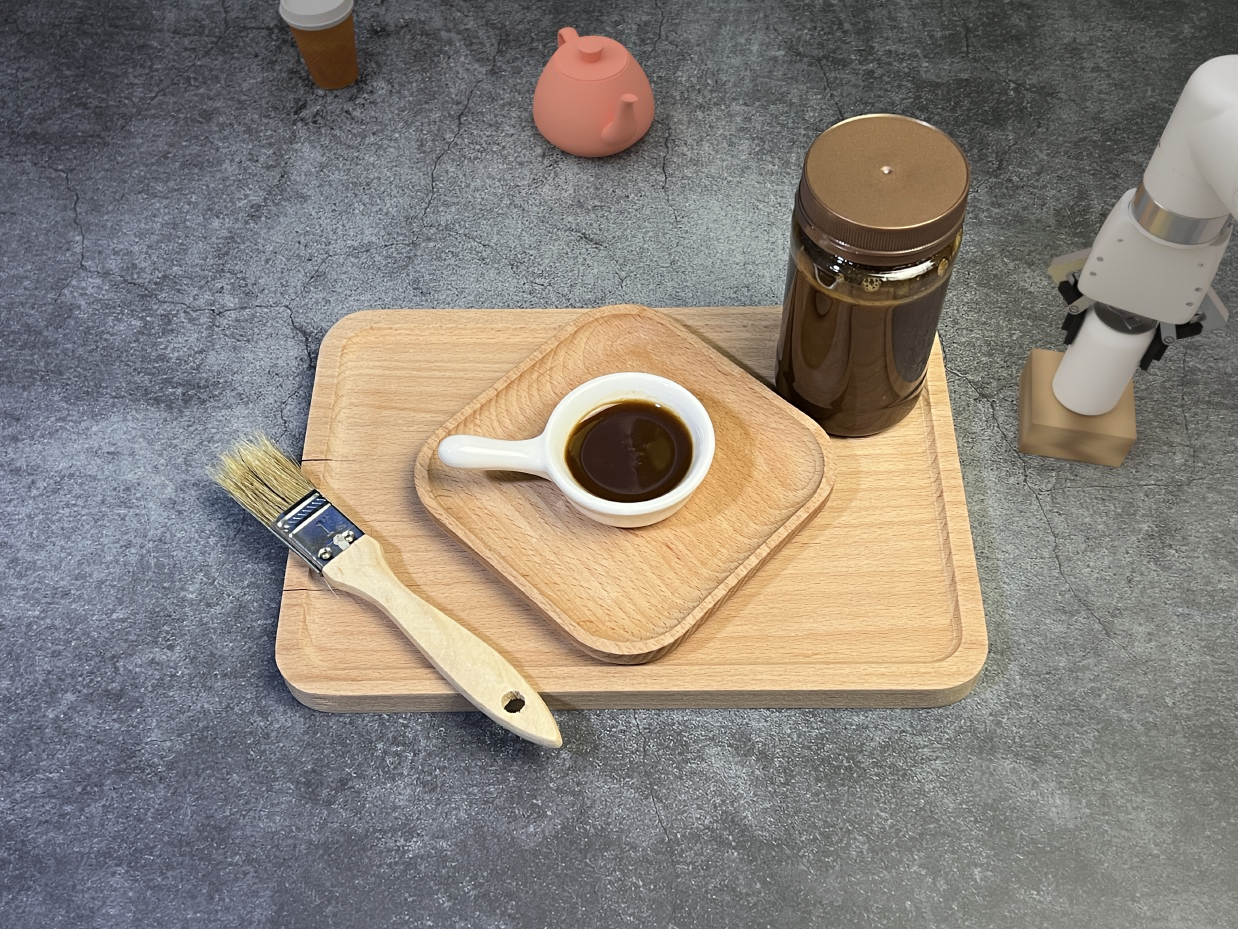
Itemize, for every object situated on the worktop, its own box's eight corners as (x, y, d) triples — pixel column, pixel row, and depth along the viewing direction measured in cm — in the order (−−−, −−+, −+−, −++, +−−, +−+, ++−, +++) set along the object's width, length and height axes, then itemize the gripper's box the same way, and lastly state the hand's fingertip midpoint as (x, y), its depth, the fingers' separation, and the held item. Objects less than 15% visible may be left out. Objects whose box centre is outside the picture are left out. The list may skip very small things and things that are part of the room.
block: (1115, 392, 117) (1132, 361, 113) (1119, 467, 112) (1137, 439, 108) (1018, 377, 119) (1032, 347, 114) (1018, 452, 113) (1032, 423, 109)
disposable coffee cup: (287, 87, 150) (262, 7, 140) (324, 48, 155) (302, -33, 145) (347, 104, 147) (326, 23, 138) (383, 63, 152) (365, -18, 142)
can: (1090, 360, 113) (1133, 277, 103) (1130, 405, 110) (1178, 324, 100) (1037, 379, 112) (1075, 297, 102) (1076, 426, 109) (1118, 346, 99)
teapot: (690, 164, 139) (693, 80, 129) (577, 202, 136) (571, 118, 125) (616, 68, 151) (613, -17, 140) (510, 101, 147) (500, 16, 137)
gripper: (1300, 207, 90) (1208, 350, 105) (1087, 147, 95) (1027, 292, 110) (1286, 267, 86) (1193, 407, 101) (1065, 201, 91) (1006, 344, 106)
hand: (1107, 346), depth 105 cm, fingers closed on can, 6 cm apart
